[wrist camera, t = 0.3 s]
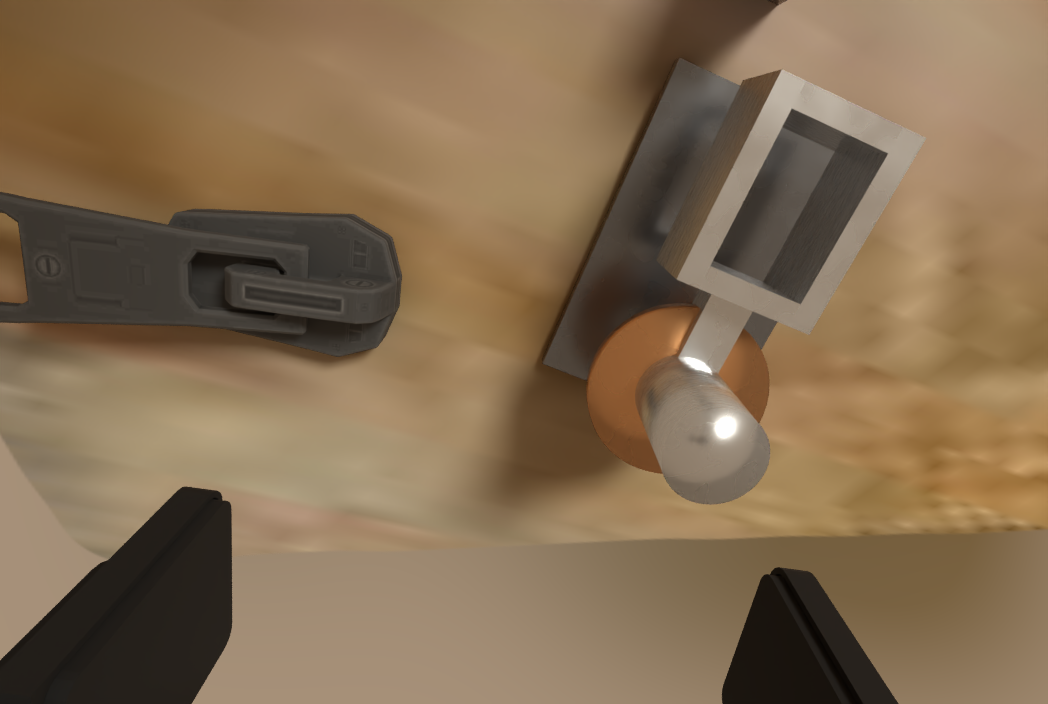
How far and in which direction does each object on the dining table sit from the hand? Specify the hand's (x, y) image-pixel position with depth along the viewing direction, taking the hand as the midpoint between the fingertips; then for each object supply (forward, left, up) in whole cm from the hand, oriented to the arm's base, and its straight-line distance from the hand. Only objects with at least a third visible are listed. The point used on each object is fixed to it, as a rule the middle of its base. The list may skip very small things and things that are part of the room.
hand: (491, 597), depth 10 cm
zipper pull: (+15, -13, -31) cm, 36 cm away
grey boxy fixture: (-8, +7, -30) cm, 32 cm away
